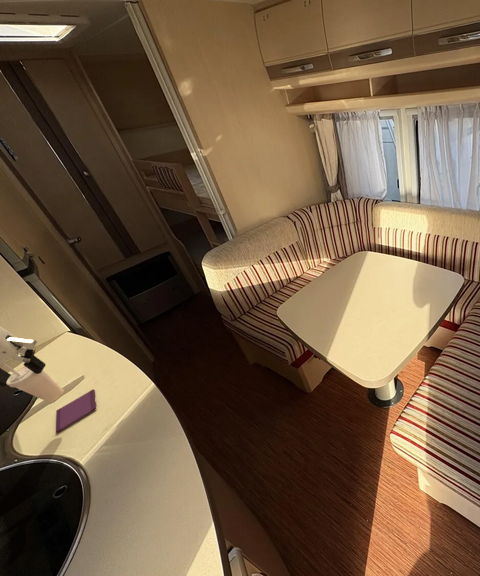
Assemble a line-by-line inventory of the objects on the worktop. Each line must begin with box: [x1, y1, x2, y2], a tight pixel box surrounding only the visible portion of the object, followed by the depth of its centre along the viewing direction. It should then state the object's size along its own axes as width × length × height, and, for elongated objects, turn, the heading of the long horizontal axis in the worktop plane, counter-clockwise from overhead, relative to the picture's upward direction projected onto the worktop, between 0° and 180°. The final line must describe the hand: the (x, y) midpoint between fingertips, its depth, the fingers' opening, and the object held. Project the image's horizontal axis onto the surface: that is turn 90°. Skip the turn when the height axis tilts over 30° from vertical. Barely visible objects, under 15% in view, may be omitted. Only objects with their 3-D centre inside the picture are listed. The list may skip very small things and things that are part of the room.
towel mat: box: [55, 388, 97, 434], centre depth 86 cm, size 9×9×1 cm
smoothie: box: [1, 363, 64, 403], centre depth 77 cm, size 6×6×14 cm
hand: (24, 375), depth 76 cm, fingers closed on smoothie, 6 cm apart
